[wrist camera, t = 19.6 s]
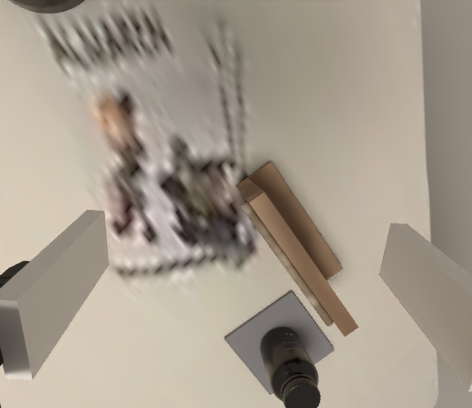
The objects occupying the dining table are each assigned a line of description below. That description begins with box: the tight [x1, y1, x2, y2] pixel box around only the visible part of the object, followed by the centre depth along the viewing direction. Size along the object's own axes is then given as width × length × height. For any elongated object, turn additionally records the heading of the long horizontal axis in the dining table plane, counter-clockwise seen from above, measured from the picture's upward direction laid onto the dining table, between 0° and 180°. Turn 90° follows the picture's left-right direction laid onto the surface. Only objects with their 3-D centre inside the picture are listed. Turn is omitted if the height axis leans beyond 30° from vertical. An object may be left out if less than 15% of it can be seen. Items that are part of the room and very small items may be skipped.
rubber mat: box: [224, 291, 334, 395], centre depth 55 cm, size 13×13×1 cm
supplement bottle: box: [260, 328, 321, 408], centre depth 49 cm, size 7×7×12 cm
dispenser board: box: [236, 162, 358, 337], centre depth 45 cm, size 7×20×14 cm, turn 35°
